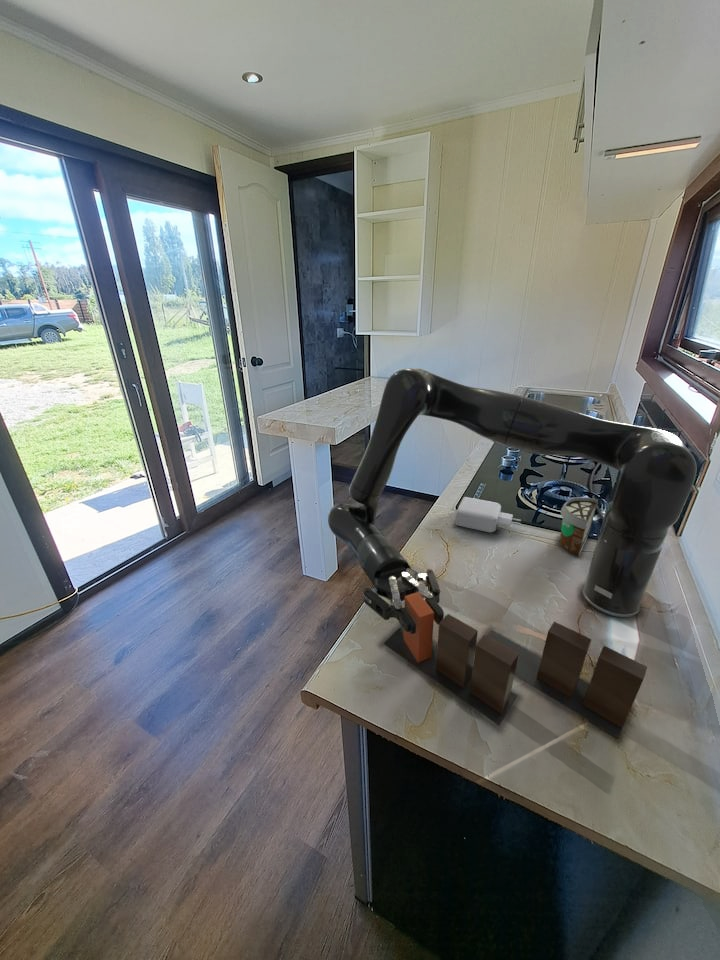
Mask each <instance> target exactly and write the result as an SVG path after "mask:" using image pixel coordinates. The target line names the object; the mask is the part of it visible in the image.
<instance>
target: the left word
mask: <svg viewBox="0 0 720 960" xmlns="http://www.w3.org/2000/svg"><path fill="white" fill-rule="evenodd" d="M478 635H479V630H478V629H476V628H474V627H472V626H471V625H469V624H467V623H465V622H463V621H462V620H460V619H458V618H457V617H455V616H453V615H451V614H449V613H447V614H446V615H444V617H443V620H442V621H441V622H440V623H439V625H438V635H437V643H436V642H434V641H433V640H432V651H431V658H428V659H426V660H423V661H421V662H417V660H416V659H415V657H414V655H413V654H412V652H411V651H410V649H409V647H408V646H407V644H406V643H405V641H404V629H403V627H402V626H401V625H400V627H398V628H397V629H396V631H394V633H392V635H391V636H389V637H388V638H387V639H386V640H385V641H384V642H383V645H384V646H386V647H387V648H388V649H390V650H392V651H393V652H394V653H395V654H397V655H399V656H400V657H401V658H403V659H404V660H406V661H407V662H408V663H410V664H411V665H413V666H414V667H415V668H417V669H418V670H420V671H421V672H423V673H424V674H425V675H426V676H428V677H429V678H431V679H433V681H435V682H436V683H438V684H439V685H441V686H442V687H444V688H445V689H446V690H448V691H449V692H450V693H452V694H453V695H455V696H456V697H457V698H459V699H460V700H461V701H463V702H465V703H466V704H467V705H469V706H470V707H471V708H473V709H474V710H476V711H478V712H479V713H480V714H481V715H483V716H484V717H485V718H487V719H489V720H490V721H491V722H493V723H494V724H495V725H497V726H499V727H500V726H501V724H502V722H503V720H504V719H505V717H506V715H507V714H508V712H509V711H510V709H511V707H512V705H513V704H514V702H515V700H516V699H517V697H518V694H516V693H514V692H512V688H513V684H514V679H515V675H514V674H515V670H516V665H517V660H518V655H519V654H518V653H516V652H514V651H512V650H511V649H509V648H507V647H505V646H504V645H502V644H500V643H498V642H497V641H495V640H493V639H491V638H490V637H488V636H487V635H486V634H483V636H482V637H481V639H480V640H478ZM477 640H478V642H477Z"/></svg>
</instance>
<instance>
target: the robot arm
mask: <svg viewBox="0 0 720 960" xmlns="http://www.w3.org/2000/svg"><path fill="white" fill-rule="evenodd" d="M382 392H383V393H382V396H381V401H380V404H379V408H378V412H377V417H376V419H375V423H374V426H373V429H372V432H371V435H370V438H369V440H368V444H367V447H366V448H365V451H364V453H363V455H362V458H361V459H360V462H359V465H358V467H357V469H356V472H355V473H354V475H353V478H352V480H351V482H350V485H349V488H348V494H349V496H350V498H351V499H353V500H354V501H355V502H356V503H359V504H360V505H357V504H350V503H343V502H342V503H337V504H334V505H333V506H332V507H331V508H330V510H329V512H328V515H327V523H328V527H329V529H330V531H331V532H332V534H333V535H334V536H335V537H336V538H337V539H338V540H340V541H341V542H342V543H343V544H345V545H346V546H348V547H349V548H350V549H351V551H352V552H353V553H354V555H355V556H356V558H357V560H358V563H359V565H360V567H361V569H362V571H363V572H364V574H366V577H368V579H369V581H370V582H371V584H372V585H373V588H369V587H366V588H364V589H363V603H364V604H365V605H367V606H368V607H369V608H370V609H371V610H372V611H374V612H375V613H376V614H377V615H378V616H379V617H381V618H382V619H383V620H385V621H388V620H391V619H392V618H394V619H395V620H397V621H398V623H399V624H400V627H401V626H402V627H403V629H404V630H405V631H406V632H410V634H414V633H416V624H415V622H414V620H413V619H412V617H411V616H410V615H409V613H408V612H407V610H406V609H405V606H404V607H403V604H402V602H404V601H405V596H407V595H410V594H413V593H416V592H419V594H420V595H421V596H422V598H423V599H424V600H425V601H426V603H427V604H428V605H429V607H430V608H431V609H432V610H433V612H434V622H435V623H436V625H438V626H439V623H440V622H441V621H442V620H443V619H444V617H445V615H444V613H445V612H444V609H443V608H442V607H441V606H440V605H439V603H440V600H441V599H440V596H441V588H440V585H439V583H438V580H437V577H436V574H435V572H434V570H433V569H430V568H428V569H427V570H426V571H425V572H423V573H419V572H418V571H416V570H414V569H413V568H411V566H410V564H409V562H408V561H407V560H406V558H405V557H404V556H403V555H402V553H400V551H399V550H398V549H397V548H396V546H395V545H394V544H393V543H392V542H391V541H390V540H389V539H388V538H387V537H386V536H385V535H384V534H383V532H382V531H381V530H380V529H379V527H377V526H376V525H375V523H376V517H377V511H378V507H379V506H378V505H379V501H380V498H381V496H382V494H383V491H384V490H385V488H386V485H387V484H388V481H389V480H390V477H391V475H392V472H393V469H394V467H395V462H396V458H397V454H398V451H399V449H400V447H401V444H402V442H403V439H404V438H405V436H406V434H407V432H408V431H409V430H410V428H411V426H412V425H413V423H414V422H415V421H416V419H417V418H418V417H419V416H424V417H425V416H426V417H431V418H436V419H440V420H445V421H449V422H452V423H455V424H458V425H460V426H462V427H464V428H466V429H467V430H469V431H471V432H473V433H474V434H477V435H478V436H480V437H482V438H484V439H486V440H488V441H490V442H493V443H496V444H498V445H501V446H504V447H507V448H511V449H514V450H517V451H521V452H524V453H529V454H533V455H539V456H540V455H542V456H565V457H578V458H581V459H582V458H583V459H587V460H592V461H594V462H596V463H597V464H596V465H595V467H594V468H593V470H592V472H591V473H590V477H589V482H588V487H589V493H590V492H592V493H593V494H594V491H593V480H594V476H595V474H596V472H597V470H598V468H599V467H600V465H605V466H608V467H610V468H613V469H615V470H618V471H620V475H619V478H618V483H617V485H616V488H615V493H614V496H613V498H612V500H611V501H610V502H608V504H607V506H606V508H605V513H604V515H603V513H602V511H601V509H600V507H599V505H598V504H597V507H596V510H595V511H596V512H597V514H598V516H599V518H600V519H601V522H602V523H601V526H600V530H599V534H598V537H597V541H596V545H595V548H594V551H593V555H592V558H591V562H590V565H589V568H588V572H587V576H586V578H585V582H584V585H583V586H582V591H581V592H582V593H581V594H582V596H583V598H584V600H585V601H586V603H588V604H589V605H590V606H591V607H592V608H594V609H595V610H598V611H599V612H601V613H604V614H606V615H609V616H611V617H616V618H631V617H635V616H636V615H637V614H638V613H639V612H640V610H641V604H642V602H643V599H644V598H645V594H646V593H647V592H646V591H647V589H648V586H649V583H650V581H651V578H652V575H653V573H654V571H655V568H656V565H657V562H658V560H659V557H660V555H661V553H662V549H663V546H664V544H665V541H666V538H667V536H668V533H669V530H670V528H671V527H672V526H673V525H674V524H676V523H677V521H678V520H679V518H680V515H681V514H682V512H683V509H684V507H685V504H686V502H687V500H688V497H689V495H690V493H691V491H692V488H693V486H694V484H695V479H696V476H697V468H698V466H697V462H696V459H695V457H694V455H693V454H692V452H691V451H690V449H688V447H687V445H685V443H684V442H683V441H682V440H681V439H680V438H679V437H678V436H677V435H675V434H673V433H671V432H668V431H666V430H662V429H659V428H658V429H657V428H652V427H645V426H639V425H633V424H628V423H621V422H615V421H609V420H605V419H600V418H596V417H595V416H594V417H593V416H590V415H588V414H585V413H581V412H578V411H575V410H572V409H569V408H566V407H562V406H558V405H555V404H551V403H549V402H546V401H542V400H538V399H534V398H531V397H527V396H523V395H518V394H515V393H509V392H505V391H500V390H499V391H498V390H493V389H487V388H480V387H473V386H469V385H464V384H461V383H458V382H456V381H452V380H451V379H450V380H449V379H447V378H444V377H442V376H440V375H437V374H435V373H433V372H430V371H427V370H425V369H422V368H412V367H411V368H403V369H400V370H397V371H396V372H394V373H392V375H390V377H389V379H387V381H386V382H385V386H384V390H383V391H382ZM592 498H594V499H596V498H595V494H594V495H593V496H592ZM425 587H427V589H426V588H425ZM383 598H384V599H383ZM385 599H387V600H389V602H390V603H388V602H387V601H386V600H385Z"/></svg>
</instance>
